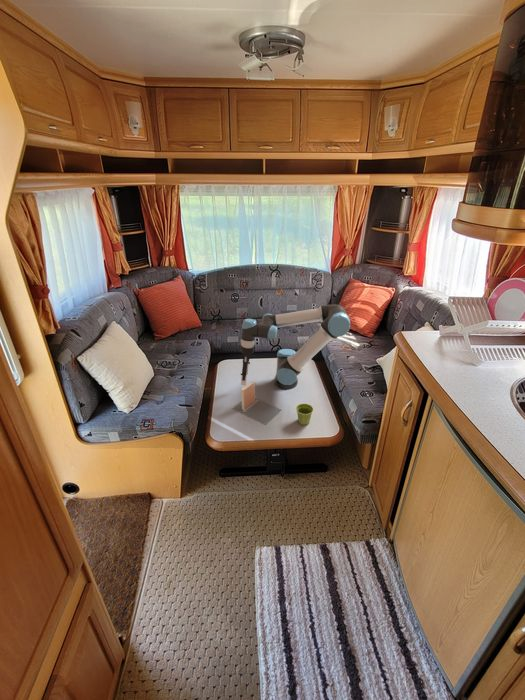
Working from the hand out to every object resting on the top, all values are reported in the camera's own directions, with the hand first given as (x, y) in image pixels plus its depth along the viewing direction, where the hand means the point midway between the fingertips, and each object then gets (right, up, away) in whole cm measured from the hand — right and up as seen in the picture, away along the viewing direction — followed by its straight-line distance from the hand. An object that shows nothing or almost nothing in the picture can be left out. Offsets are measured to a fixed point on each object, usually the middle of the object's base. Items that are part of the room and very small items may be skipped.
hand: (244, 379), depth 204 cm
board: (+7, -18, -6) cm, 20 cm away
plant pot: (+33, -22, -14) cm, 42 cm away
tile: (+3, -15, -3) cm, 15 cm away
